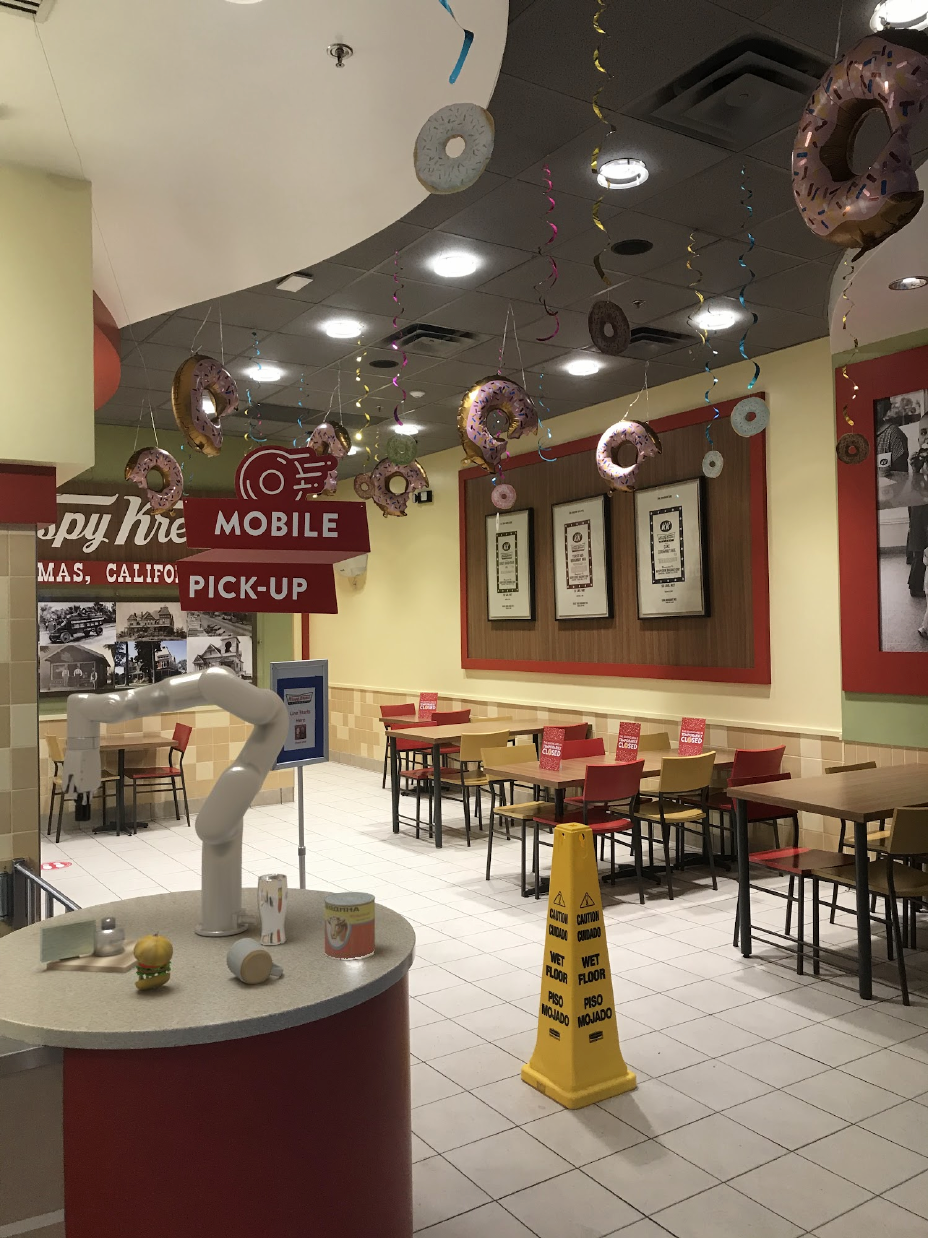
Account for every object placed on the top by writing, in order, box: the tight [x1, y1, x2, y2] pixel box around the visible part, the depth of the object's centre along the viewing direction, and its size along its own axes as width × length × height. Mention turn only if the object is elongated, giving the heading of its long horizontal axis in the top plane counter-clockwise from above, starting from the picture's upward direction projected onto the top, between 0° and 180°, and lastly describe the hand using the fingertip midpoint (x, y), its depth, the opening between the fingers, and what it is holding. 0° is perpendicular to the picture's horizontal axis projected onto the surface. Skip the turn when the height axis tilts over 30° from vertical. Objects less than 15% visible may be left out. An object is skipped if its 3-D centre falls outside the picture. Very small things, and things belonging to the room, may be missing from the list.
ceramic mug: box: [226, 937, 284, 985], centre depth 195 cm, size 11×8×8 cm
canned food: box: [324, 891, 376, 959], centre depth 212 cm, size 11×11×12 cm
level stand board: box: [46, 939, 139, 974], centre depth 209 cm, size 18×18×2 cm
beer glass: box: [256, 873, 289, 946], centre depth 220 cm, size 7×7×15 cm
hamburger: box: [133, 931, 174, 991], centre depth 189 cm, size 8×7×12 cm
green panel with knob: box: [39, 916, 126, 963], centre depth 206 cm, size 18×7×8 cm, turn 128°
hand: (82, 820), depth 229 cm, fingers closed
